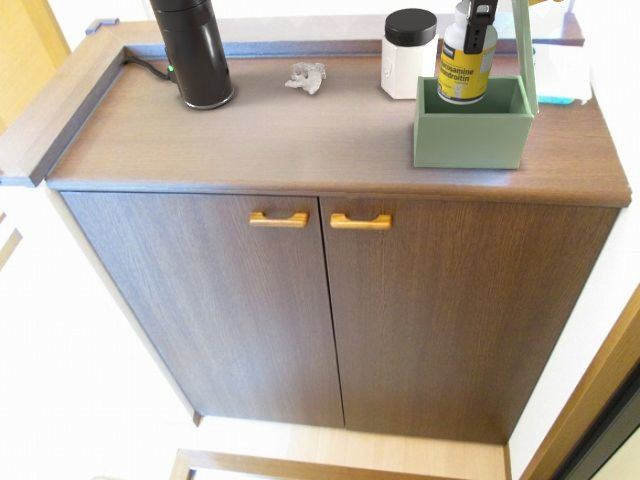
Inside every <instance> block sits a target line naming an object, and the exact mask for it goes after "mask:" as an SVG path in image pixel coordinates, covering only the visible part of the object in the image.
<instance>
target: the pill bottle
mask: <svg viewBox="0 0 640 480" xmlns="http://www.w3.org/2000/svg"><path fill="white" fill-rule="evenodd" d="M477 12H486V5H480V6H479V7H478V8H477ZM467 15H468V2H467V1H466V0H464V1H462V0H461V1H459V2H458V3H456V5H455V8H454V13H453V19H454V21H453V22H452V23H451V24H449V25H448V26H447V28H446V29H445V31H444V34H443V40H442V48H441V55H440V57H441V58H440V64H439V71H438V76H439V78H438V86H437V90H438V93H439V95H440V97H441V98H443V99H444V100H445V101H447V102H450V103H453V104H460V105H465V104H471V103H475V102H477V101H479V100H480V99H481V98H482V97H483V96H484V94H485V92H486V88H487V83H488V79H489V76H491V75H490V74H491V69H492V65H493V60H494V56H495V52H496V47H497V42H498V37H499V34H498V31H497V29H496V27H495V26H494V24H493V25H487V30H486V35H485V41H484V46H483V51H482V53H481V54H478V55H466V54H464V52H463V45H464V39H465V33H466V26H467V21H466V17H467Z"/></svg>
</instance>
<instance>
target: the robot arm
mask: <svg viewBox="0 0 640 480" xmlns="http://www.w3.org/2000/svg"><path fill="white" fill-rule="evenodd" d="M148 1H149V4H150V6H151V9H152V12H153V15H154V17H155V18H154V19H155V20H156V23H157V26H158V29H159V32H160V35H161V37H162V40H163V43H164V46H165V47H164V53H165V55H166V58H167V61H168V64H169V66H168V67H166V71H167V73H166V74H165V73H163V72H161V71H159V70H158V69H156V68H155V67H154V66H153V65H152V64H151V63H149V62H147V61H146V60H143V59H141V58H138V57H135V56H130V55H129V56H127V55H126V56H125V58H124V57H123V58H124V60H123V58H122V60H121V63H120V64H121V65H126V64H127V63H129V62H131V63H136V64H138V65H140V66H142V67H145V68H147V69H148V70H149V71H150V72H151V73H152V74H153V75H155V76H157V77H158V78H160V79H161V80H165V81H170V82H171V83H172V84H175V85H176V86H177V89H178V92H179V94H180V97H181V98H182V99H183V102H184V104H185V105H186V106H187V107H189V108H190V109H193V110H197V111H198V110H201V111H203V110H211V109H216V108H219V107H221V106H223V105H225V104H227V103H228V102H229V101H231V100H232V98H233V97H234V95H235V87H234V84H233V81H232V77H231V71H230V65H229V63H228V62H229V61H228V60H227V57H226V53H225V50H224V45H223V42H222V37H221V33H220V30H219V26H218V21H217V18H216V14H215V10H214V7H213V2H212V0H148ZM461 1H464V0H461ZM466 1H467V2H468V15H467V17H466V21H467V26H466V33H465V39H464V45H463V52H464V54H466V55H478V54H481V53H482V51H483V46H484V41H485V35H486V30H487V25H493V26H494V22H495V21H496V13H497V9H498V5H499V0H466ZM480 5H486V12H477V8H478V7H479V6H480Z"/></svg>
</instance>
